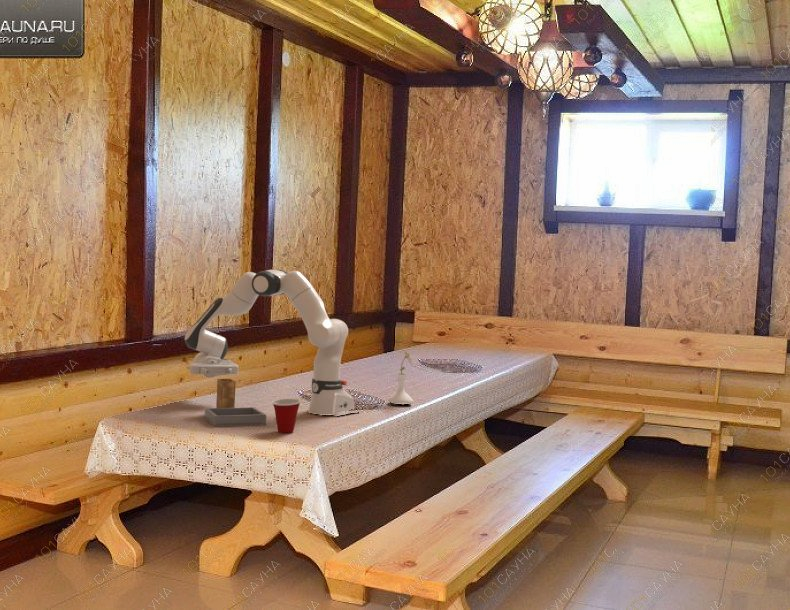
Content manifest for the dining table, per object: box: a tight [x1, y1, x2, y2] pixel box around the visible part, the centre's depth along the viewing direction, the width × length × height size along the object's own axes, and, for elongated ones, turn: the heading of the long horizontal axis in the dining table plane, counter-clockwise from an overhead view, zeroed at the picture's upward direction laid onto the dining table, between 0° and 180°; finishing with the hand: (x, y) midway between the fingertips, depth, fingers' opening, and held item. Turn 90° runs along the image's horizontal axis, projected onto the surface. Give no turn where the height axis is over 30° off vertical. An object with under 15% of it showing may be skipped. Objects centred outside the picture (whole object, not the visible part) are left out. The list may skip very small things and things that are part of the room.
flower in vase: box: [387, 347, 414, 403], centre depth 462 cm, size 13×11×25 cm
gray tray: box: [204, 406, 267, 428], centre depth 405 cm, size 20×16×4 cm
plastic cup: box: [271, 398, 301, 434], centre depth 390 cm, size 11×11×12 cm
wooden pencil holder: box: [215, 378, 236, 408], centre depth 418 cm, size 6×7×14 cm
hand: (218, 372), depth 429 cm, fingers open, 8 cm apart
